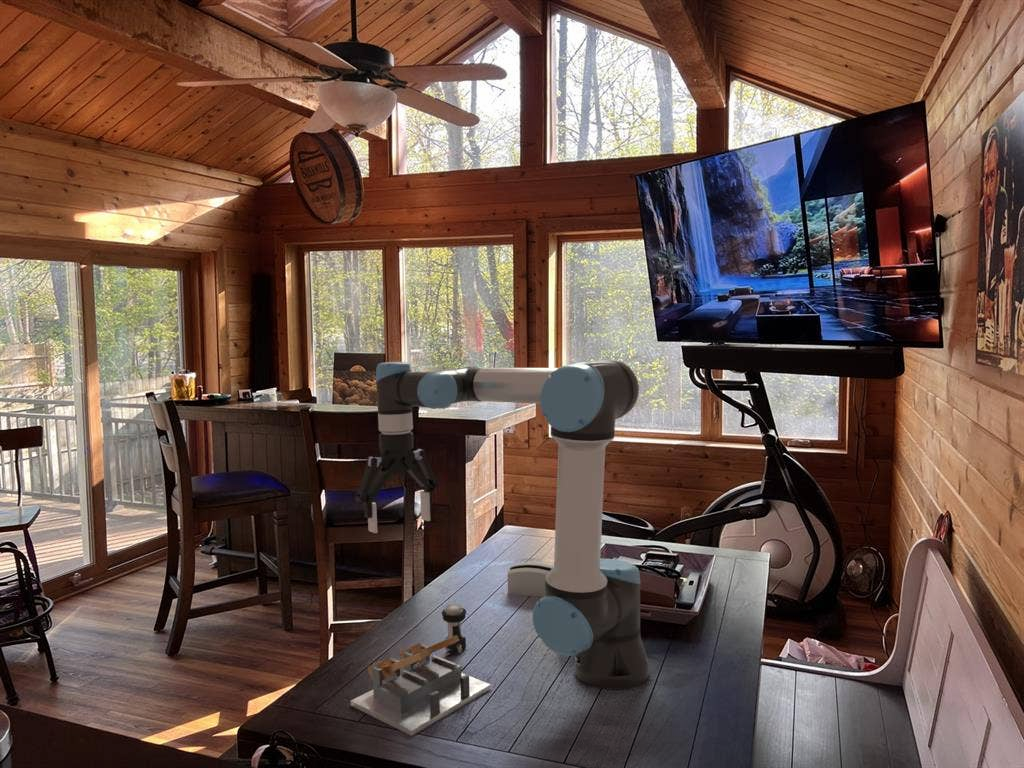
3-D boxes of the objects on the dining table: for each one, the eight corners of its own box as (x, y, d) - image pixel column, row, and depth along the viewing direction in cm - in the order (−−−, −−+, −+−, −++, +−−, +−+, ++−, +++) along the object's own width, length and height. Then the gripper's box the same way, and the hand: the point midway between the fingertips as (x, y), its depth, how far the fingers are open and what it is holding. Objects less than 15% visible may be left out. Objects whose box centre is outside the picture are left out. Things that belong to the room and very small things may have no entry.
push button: (453, 661, 163) (451, 616, 162) (434, 655, 166) (432, 611, 165) (472, 649, 169) (470, 605, 168) (453, 644, 172) (452, 601, 171)
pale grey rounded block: (573, 593, 201) (569, 562, 197) (568, 605, 197) (564, 574, 193) (513, 586, 207) (508, 556, 203) (507, 598, 203) (502, 567, 199)
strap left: (373, 684, 149) (367, 667, 150) (384, 678, 151) (378, 661, 152) (421, 664, 139) (414, 646, 140) (432, 658, 142) (425, 641, 142)
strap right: (404, 668, 155) (398, 652, 156) (414, 663, 157) (408, 647, 158) (452, 648, 145) (445, 631, 146) (462, 643, 148) (455, 626, 148)
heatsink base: (490, 689, 151) (489, 657, 150) (411, 735, 135) (410, 700, 134) (430, 665, 162) (429, 635, 161) (350, 705, 146) (349, 672, 145)
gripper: (433, 423, 180) (437, 512, 182) (336, 436, 165) (341, 533, 166) (452, 426, 174) (455, 518, 176) (352, 440, 159) (357, 540, 161)
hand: (400, 525), depth 171 cm, fingers open, 13 cm apart
